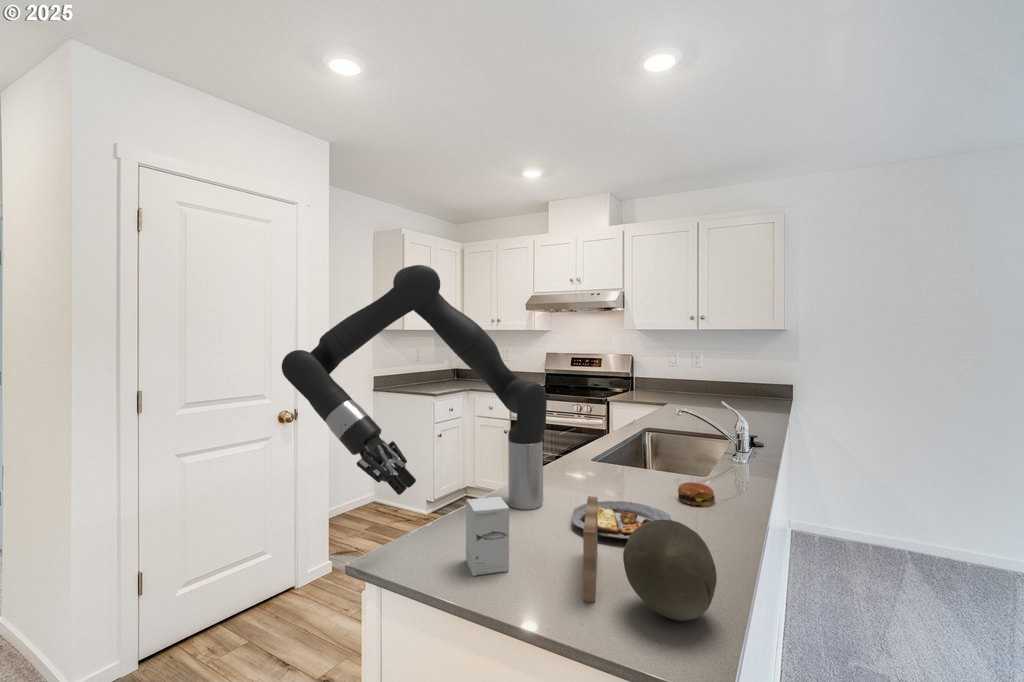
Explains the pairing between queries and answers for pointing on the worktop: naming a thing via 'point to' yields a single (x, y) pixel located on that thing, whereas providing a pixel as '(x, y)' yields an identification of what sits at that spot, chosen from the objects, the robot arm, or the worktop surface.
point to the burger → (696, 494)
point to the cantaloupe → (670, 569)
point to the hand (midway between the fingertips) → (408, 487)
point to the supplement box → (487, 535)
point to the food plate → (609, 522)
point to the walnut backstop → (590, 549)
